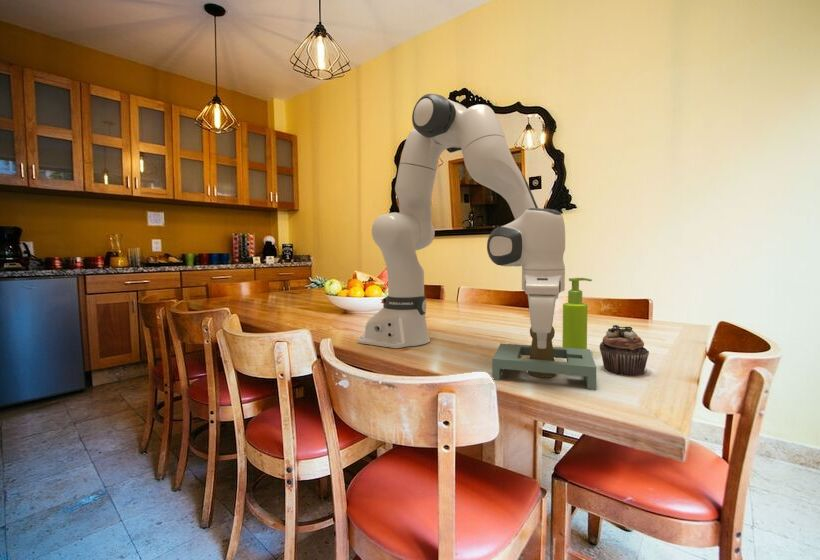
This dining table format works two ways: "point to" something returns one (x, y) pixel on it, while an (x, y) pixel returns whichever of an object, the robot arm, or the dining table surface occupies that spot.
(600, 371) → the dining table surface
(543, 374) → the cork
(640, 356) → the cupcake
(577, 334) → the soap dispenser
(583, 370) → the grey-green slotted stand
